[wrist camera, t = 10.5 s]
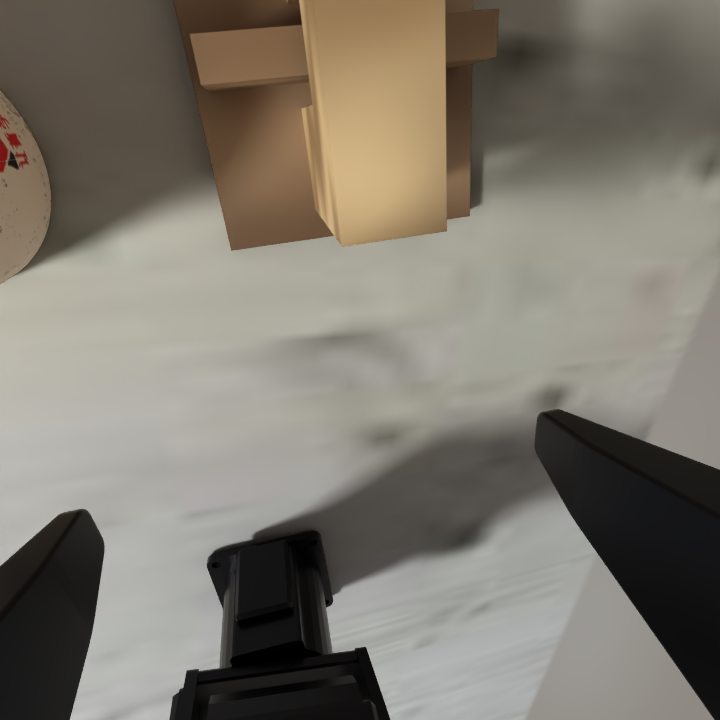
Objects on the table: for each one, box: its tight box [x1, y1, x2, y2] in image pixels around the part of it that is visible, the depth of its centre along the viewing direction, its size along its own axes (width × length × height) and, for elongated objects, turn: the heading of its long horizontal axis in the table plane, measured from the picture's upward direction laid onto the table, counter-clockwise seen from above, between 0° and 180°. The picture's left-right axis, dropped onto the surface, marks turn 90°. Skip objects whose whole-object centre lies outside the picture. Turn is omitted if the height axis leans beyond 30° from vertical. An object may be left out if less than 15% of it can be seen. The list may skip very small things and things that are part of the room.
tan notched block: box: [286, 0, 447, 247], centre depth 13 cm, size 10×3×6 cm, turn 5°
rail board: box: [174, 0, 499, 251], centre depth 15 cm, size 12×10×4 cm
